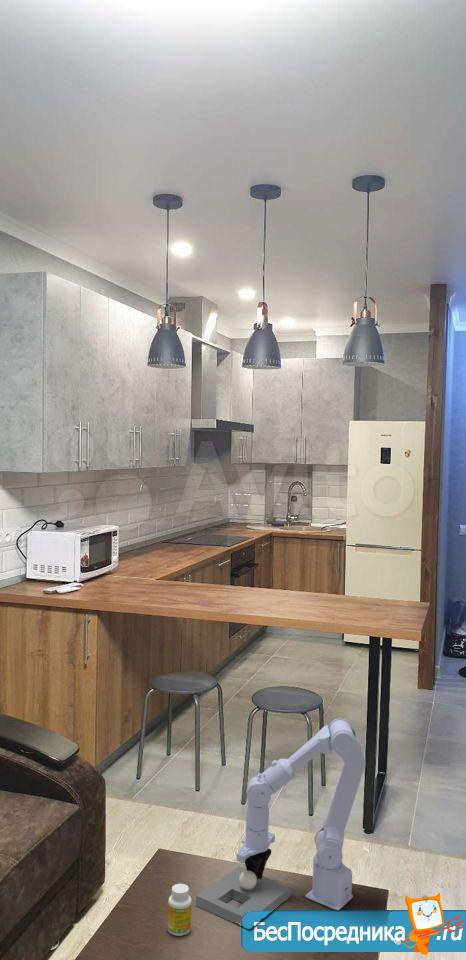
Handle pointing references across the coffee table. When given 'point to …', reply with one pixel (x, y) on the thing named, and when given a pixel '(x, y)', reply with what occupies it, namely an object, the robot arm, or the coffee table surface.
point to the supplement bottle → (179, 910)
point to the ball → (248, 880)
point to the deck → (241, 896)
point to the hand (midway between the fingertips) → (254, 879)
